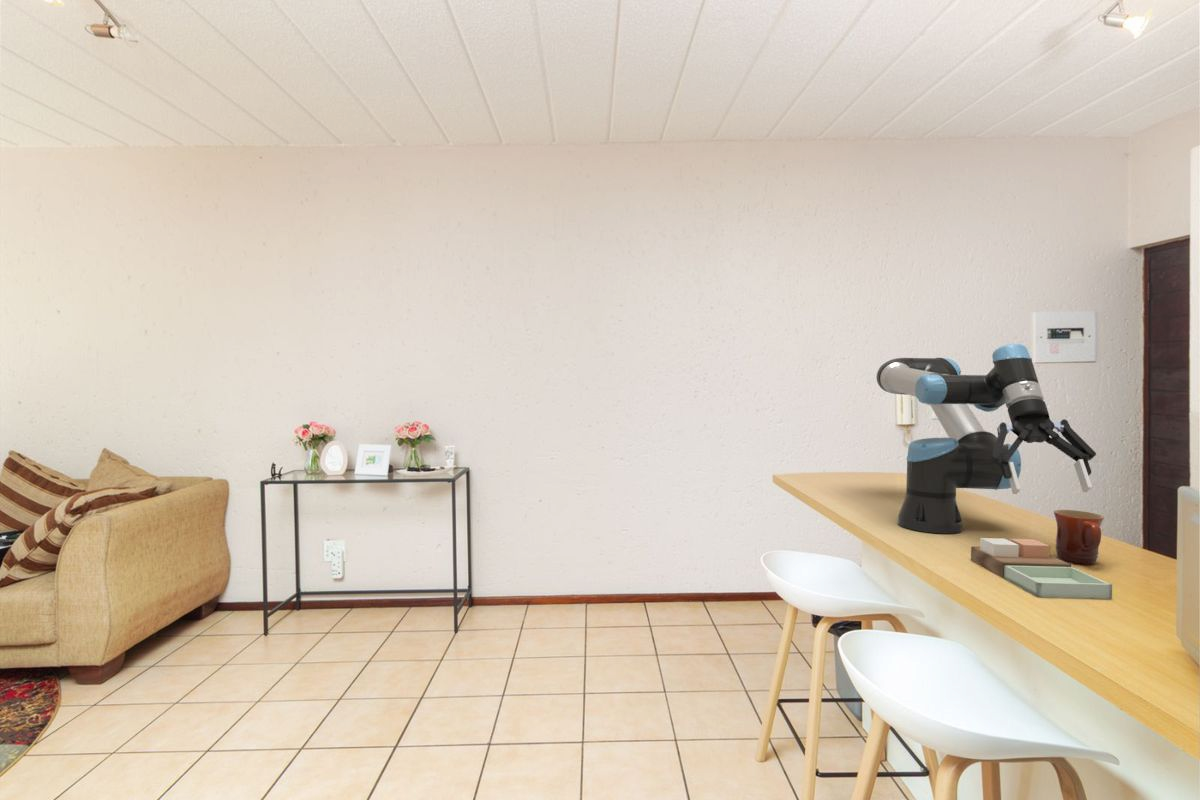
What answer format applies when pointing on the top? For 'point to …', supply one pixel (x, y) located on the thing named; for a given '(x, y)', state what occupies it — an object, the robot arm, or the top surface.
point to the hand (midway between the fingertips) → (1051, 490)
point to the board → (1011, 561)
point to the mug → (1078, 536)
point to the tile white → (999, 547)
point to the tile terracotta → (1031, 548)
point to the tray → (1057, 582)
